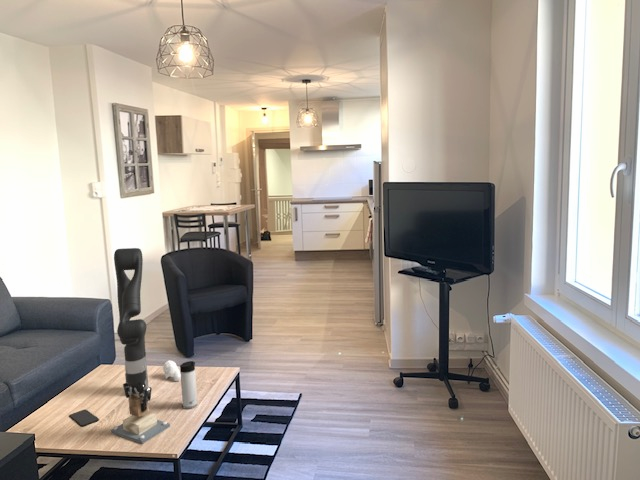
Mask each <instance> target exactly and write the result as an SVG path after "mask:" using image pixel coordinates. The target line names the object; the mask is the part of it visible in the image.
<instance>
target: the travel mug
mask: <svg viewBox="0 0 640 480" xmlns="http://www.w3.org/2000/svg"><path fill="white" fill-rule="evenodd" d="M195 365H196V362H195V361H193V360H189V361H186V362H182V363H181V364H180V365H179V372H180V374H181V379H180V387H181V399H182V401H181V402H182V407H183V409H186V410H191V409H194V408H196V407H197V406H198V395H197V394H198V393H197V378H196V368H195V367H196V366H195Z"/></svg>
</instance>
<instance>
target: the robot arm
mask: <svg viewBox="0 0 640 480" xmlns="http://www.w3.org/2000/svg"><path fill="white" fill-rule="evenodd" d="M143 259H144V258H143V253H142V250H141V249H140V248H137V247H132V248H117V249H116V250H115V251H114V253H113V262H114V270H115V276H116V286H117V288H116V289H117V291H116V296H117V306H118V315H119V323H118V325H117V331H116V332H117V336H118V338H119V341H120V343H121V344H122V345H124V347H123V348H124V349H123V351H124V352H123V353H124V369H125V373H124V378H125V383H122V387H123V390H124V393H125V398H127V399H129V397H132V396H133V395H136V394H137V397H138V398H139V399H140V402H141V412H144V411H146V410H147V402H148V403H149V402H150V401H151V397H152V390H153V389H152V387H151V386H149V378H148V377H149V376H148V364H147V354H146V342H145V341H146V339H145V338H146V337H145V336H146V331H147V324H146V321H145V320H144V319H142V318H138V319H132V318H134V317H137V316H139V315H140V314H141V311H142V307H141V305H142V304H141V303H142V302H141V289H142V278H143V261H144V260H143ZM125 271H133V275H132V277H131V279H130V278H129V277H128V276H127V274H126V272H125ZM140 394H142V395H140ZM142 397H144V399H142ZM147 397H148V398H147Z"/></svg>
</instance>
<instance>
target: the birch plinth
mask: <svg viewBox="0 0 640 480" xmlns="http://www.w3.org/2000/svg"><path fill="white" fill-rule="evenodd" d="M157 420H158V419H157V414H155V413H151V412H147V413H145V414H143V415H142V416H140V417H137V416H133V415H130V416H127V417H126V418H124V419H122V423H123V429H124V430H126V431H129V432H132V433H135V434H138V435H140V434H142V433H143V432H145V431H147V430H148V429H150V428H152V427H153V426H155V425H157Z"/></svg>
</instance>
